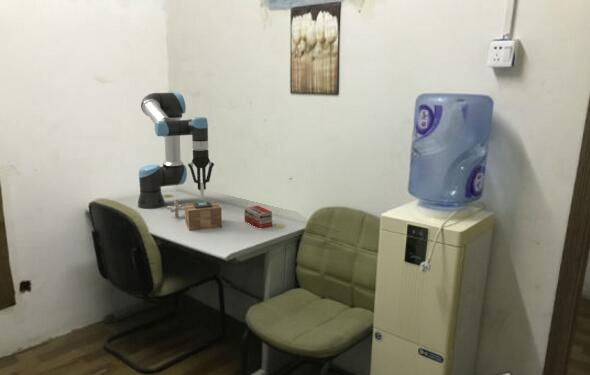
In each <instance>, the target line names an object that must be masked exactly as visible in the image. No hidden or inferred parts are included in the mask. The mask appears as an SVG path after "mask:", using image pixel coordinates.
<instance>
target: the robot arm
mask: <svg viewBox="0 0 590 375" xmlns="http://www.w3.org/2000/svg"><path fill="white" fill-rule="evenodd" d="M186 109H187V107H186V102H185V98H184V97H183V94H181V93H180V92H179V93H178V92H153V93H152V92H151V93H149V94H146V96H144V98H143V99H142V100H141V103H140V110H141V111H142V113H143V114H144V115H145V116H147V117H149V118H150V120H151V121H152V122H153V124H154V133H155V134H156V135H155V136H157V137H162V138H163V137H164V152H165V153H164V155H165V157H164V158H165V159H164V161H163V162H162V166H160V165H159V164H149V165H144V166H141V167H140V168H139V169H138V179H139V180H138V181H139V196H138V198H137V199H138V200H137V207H138V208H141V209H156V208H157V209H158V208H161V207H163V206H165V205H166V202H165V201H166V200H165V198H164V195H163V194H162V187H171V186H180V185H183V184H185V183H186V181H187V177H188V170H187V169H188V168H189V170H190V173H191V176H192V181H193V182H194V183H195V184H197V189H198V191H199V196H200V197H205V190H207V183H210V181H211V177H212V176H211V175H212V171H213V168H214V165H215V163H214V162H213V161H211V160H210V159H209V150H208V149H209V129H208V128H209V124H208V122H209V121H208V118H207V117H204V116H195V117H192V118H191V119H190V118H188V119H182V118H183V115H184V114H186ZM181 136H191V138H192V139H191V140H192V141H191V142H192V159H191V162H190V163H187V166H188V168H187V166H186V165H184V162H183V161H182V160H181ZM194 166H195V167H196V173H195V171H194ZM207 167H208V170H207V174H206V168H207ZM201 171H202V172H201ZM201 173H202V174H201ZM196 176H197V177H196ZM201 176H202V182H201Z"/></svg>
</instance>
